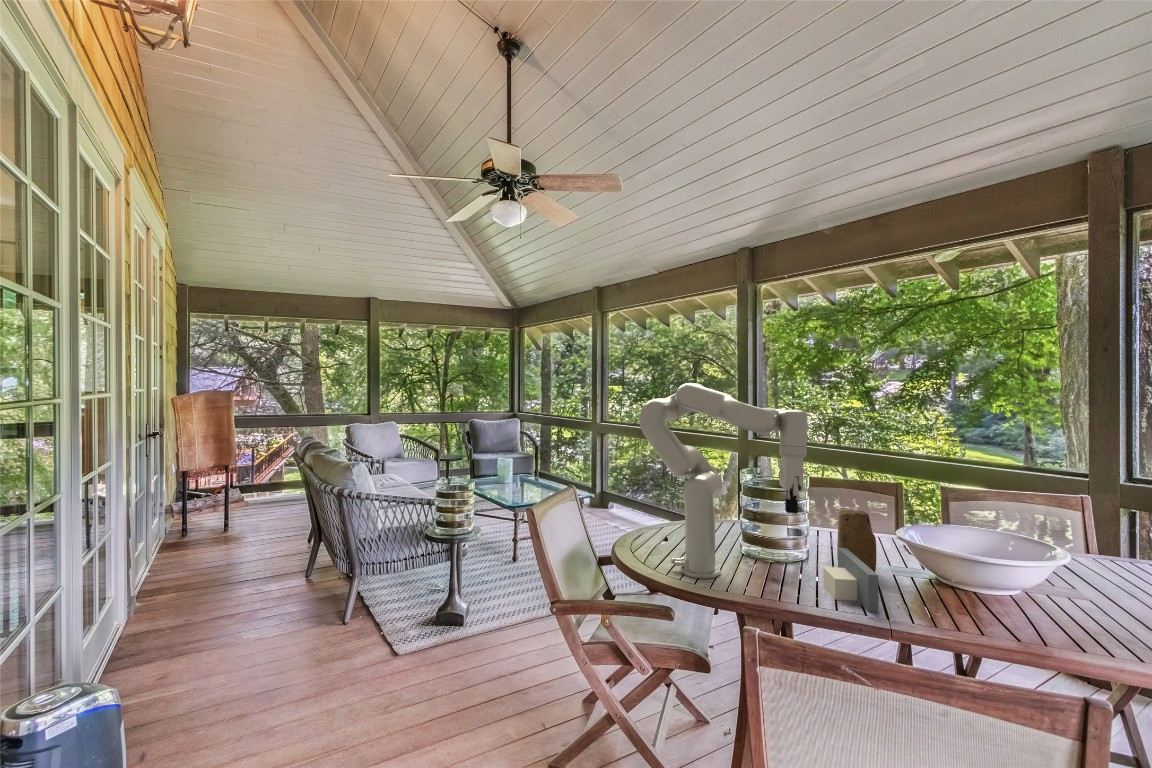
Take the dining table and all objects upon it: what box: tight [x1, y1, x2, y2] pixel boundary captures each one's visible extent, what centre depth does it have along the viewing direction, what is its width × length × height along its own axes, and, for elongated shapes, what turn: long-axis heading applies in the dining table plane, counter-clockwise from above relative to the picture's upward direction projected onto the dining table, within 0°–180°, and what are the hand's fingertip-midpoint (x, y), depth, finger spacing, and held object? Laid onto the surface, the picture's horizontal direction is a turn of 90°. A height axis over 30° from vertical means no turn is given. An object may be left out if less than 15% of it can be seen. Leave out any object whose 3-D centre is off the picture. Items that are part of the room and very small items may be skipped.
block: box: [836, 509, 877, 573], centre depth 173 cm, size 11×8×20 cm
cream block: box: [822, 566, 858, 602], centre depth 157 cm, size 6×10×6 cm, turn 172°
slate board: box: [837, 548, 879, 614], centre depth 155 cm, size 2×24×10 cm, turn 172°
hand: (791, 512), depth 160 cm, fingers closed
